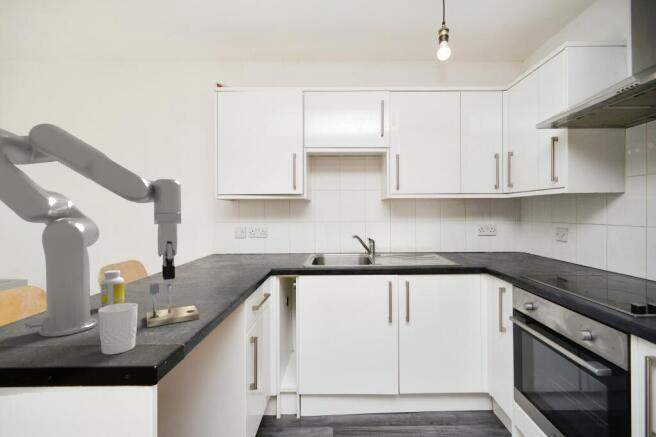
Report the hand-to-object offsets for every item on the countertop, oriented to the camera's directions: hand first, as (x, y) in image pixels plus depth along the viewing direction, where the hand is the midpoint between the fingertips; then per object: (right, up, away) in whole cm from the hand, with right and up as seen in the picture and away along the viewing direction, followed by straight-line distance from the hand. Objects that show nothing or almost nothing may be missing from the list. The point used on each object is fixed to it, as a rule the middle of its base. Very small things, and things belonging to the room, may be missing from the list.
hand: (168, 277), depth 97 cm
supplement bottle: (-26, -13, +12) cm, 32 cm away
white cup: (0, -13, -22) cm, 26 cm away
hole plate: (+1, -13, +1) cm, 13 cm away
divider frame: (+2, -11, 0) cm, 11 cm away
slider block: (0, -11, 0) cm, 11 cm away
